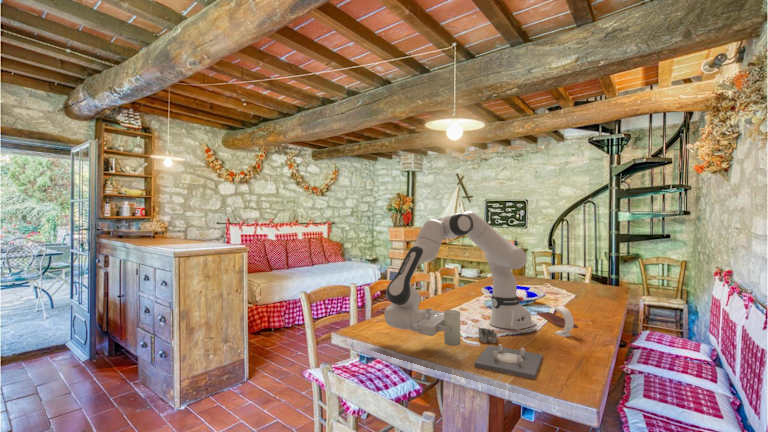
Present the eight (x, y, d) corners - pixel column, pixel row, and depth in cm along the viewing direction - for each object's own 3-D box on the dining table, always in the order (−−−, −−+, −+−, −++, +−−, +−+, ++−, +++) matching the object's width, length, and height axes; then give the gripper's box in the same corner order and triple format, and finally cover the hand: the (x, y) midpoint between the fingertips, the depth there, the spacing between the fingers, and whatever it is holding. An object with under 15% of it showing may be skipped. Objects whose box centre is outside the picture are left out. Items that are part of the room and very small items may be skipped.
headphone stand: (561, 332, 166) (562, 306, 166) (573, 336, 161) (573, 309, 161) (554, 333, 164) (555, 307, 164) (566, 337, 159) (566, 310, 159)
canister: (454, 339, 144) (454, 309, 144) (463, 344, 139) (462, 313, 139) (441, 341, 142) (441, 310, 142) (449, 346, 137) (449, 314, 136)
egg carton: (497, 344, 152) (497, 334, 152) (479, 343, 153) (479, 333, 153) (495, 335, 162) (495, 326, 162) (478, 334, 164) (478, 325, 164)
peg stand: (488, 348, 146) (488, 337, 146) (542, 358, 136) (542, 346, 136) (474, 366, 129) (474, 354, 129) (534, 379, 119) (535, 365, 119)
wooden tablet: (579, 328, 173) (579, 325, 173) (559, 329, 173) (559, 325, 173) (551, 313, 200) (551, 310, 200) (534, 313, 199) (534, 310, 199)
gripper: (410, 320, 138) (444, 325, 131) (430, 307, 156) (462, 311, 149) (410, 336, 138) (444, 343, 131) (431, 322, 156) (462, 326, 149)
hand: (454, 326), depth 140 cm, fingers closed on canister, 6 cm apart
